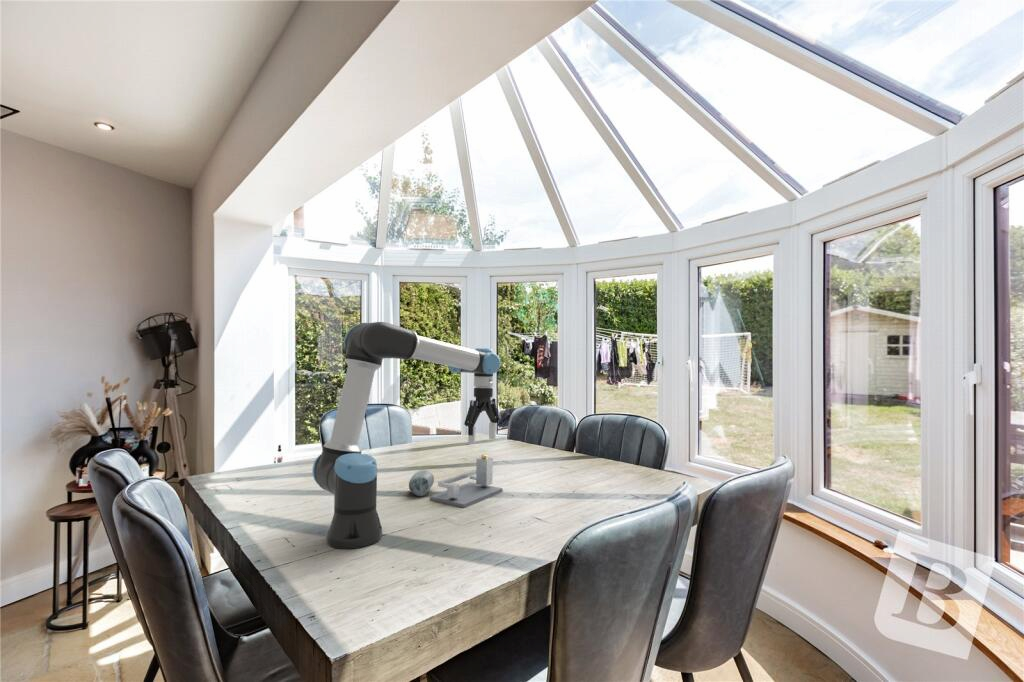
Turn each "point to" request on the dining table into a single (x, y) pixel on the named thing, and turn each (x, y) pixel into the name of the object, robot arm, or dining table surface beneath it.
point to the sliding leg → (483, 470)
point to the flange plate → (467, 495)
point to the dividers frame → (454, 488)
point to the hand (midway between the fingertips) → (482, 441)
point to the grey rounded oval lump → (421, 482)
